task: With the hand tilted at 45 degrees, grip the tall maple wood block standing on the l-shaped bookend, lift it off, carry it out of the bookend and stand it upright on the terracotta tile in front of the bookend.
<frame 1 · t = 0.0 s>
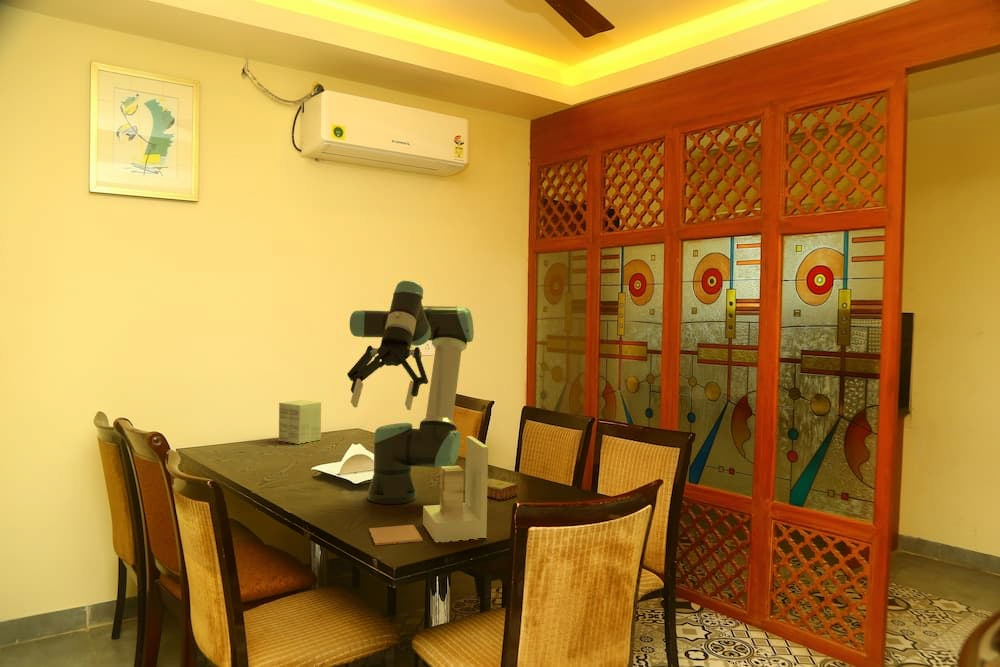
hand: (380, 406, 160), 36 cm above the table, tool tilted 35°, fingers open, 13 cm apart
tile pad: (395, 535, 175), on the table
l-shaped bookend: (454, 530, 180), on the table
supplement box: (299, 441, 299), on the table
carton: (490, 495, 219), on the table
maple block: (451, 512, 179), point 5 cm above the table, touching l-shaped bookend
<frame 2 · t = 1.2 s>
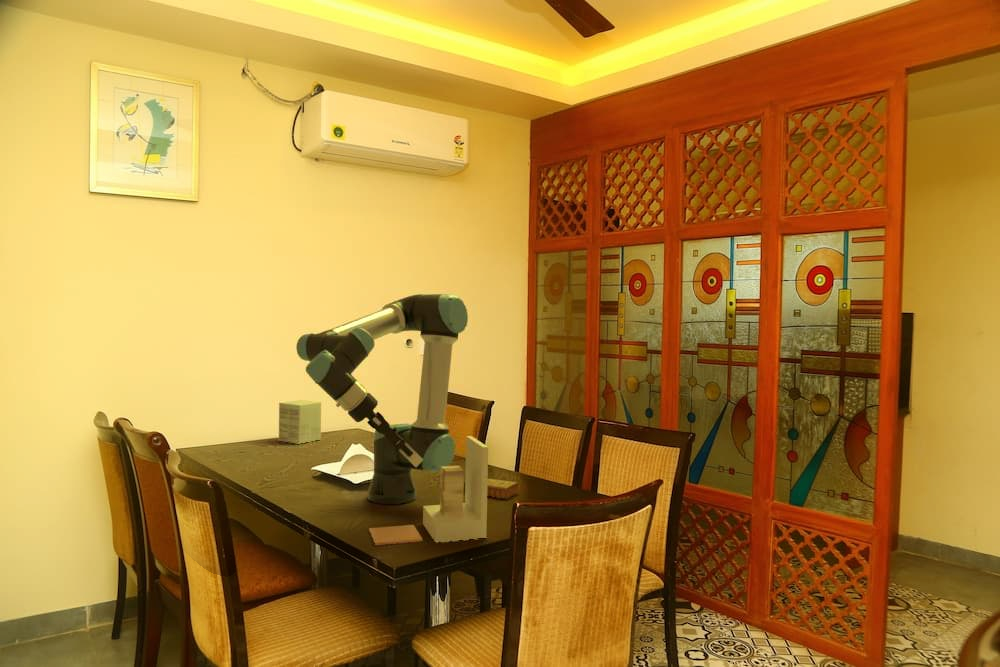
hand: (414, 458, 176), 20 cm above the table, tool tilted 45°, fingers open, 13 cm apart
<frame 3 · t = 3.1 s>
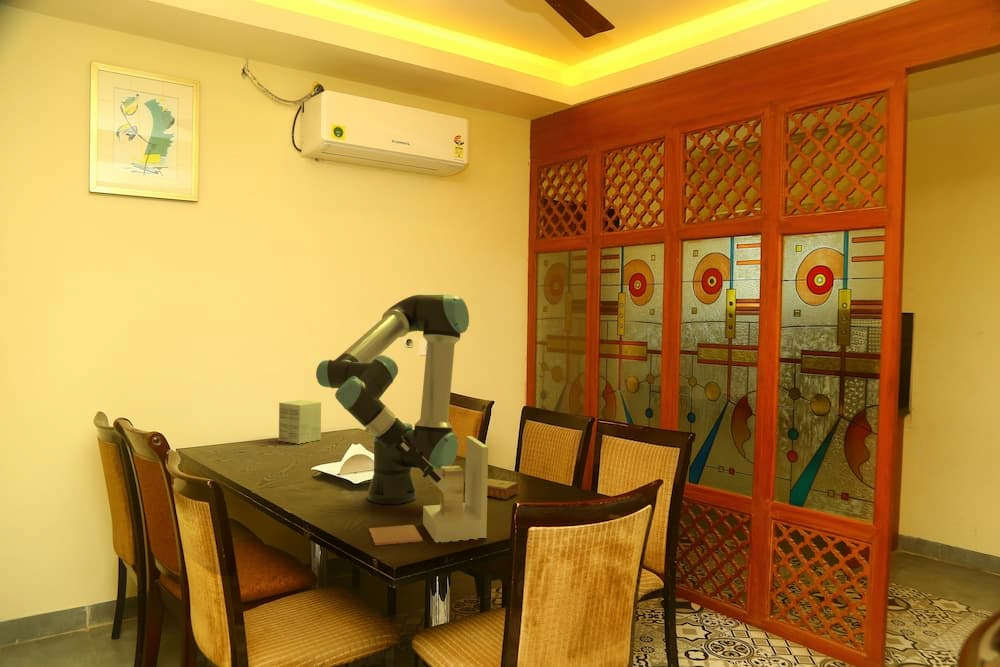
hand: (441, 482, 177), 14 cm above the table, tool tilted 45°, fingers open, 13 cm apart
nothing on the table moved.
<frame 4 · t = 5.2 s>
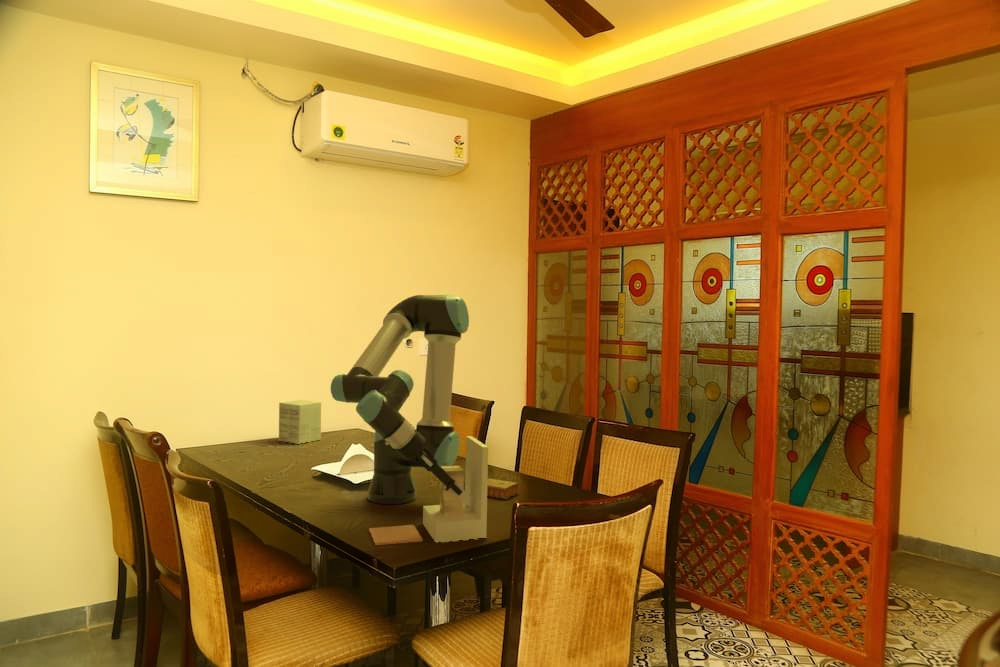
hand: (464, 497, 180), 9 cm above the table, tool tilted 45°, fingers closed on maple block, 5 cm apart
maple block: (451, 512, 179), point 5 cm above the table, touching gripper, l-shaped bookend
everything else where it was.
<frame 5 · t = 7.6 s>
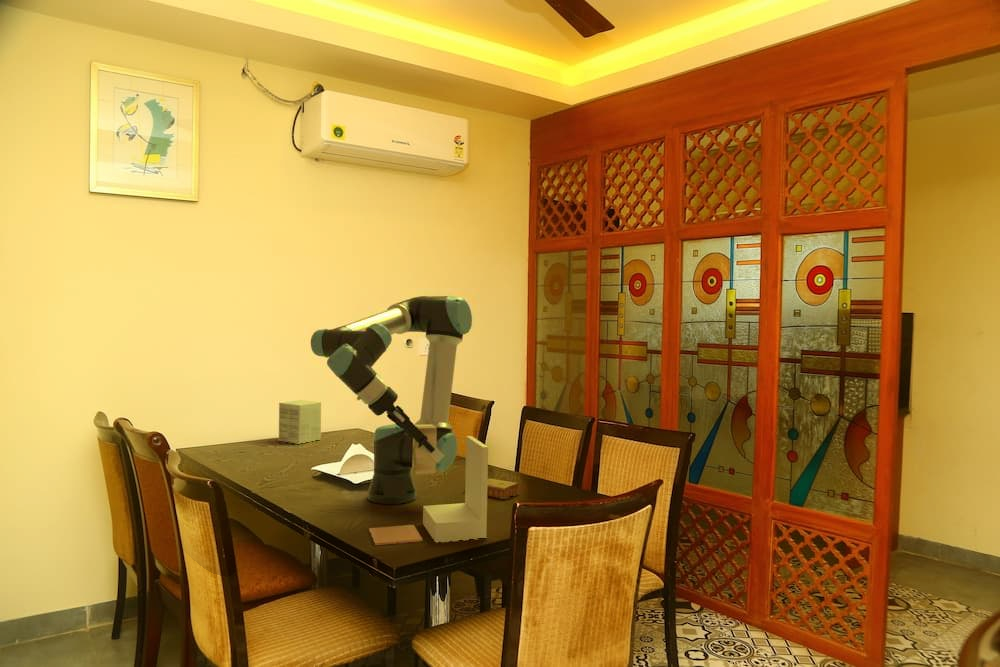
hand: (437, 456, 177), 20 cm above the table, tool tilted 45°, fingers closed on maple block, 5 cm apart
maple block: (423, 471, 176), point 17 cm above the table, touching gripper
everything else where it was.
when the fingers open (6 cm above the table, at t = 10.4 s): maple block drops 1 cm, resting on tile pad.
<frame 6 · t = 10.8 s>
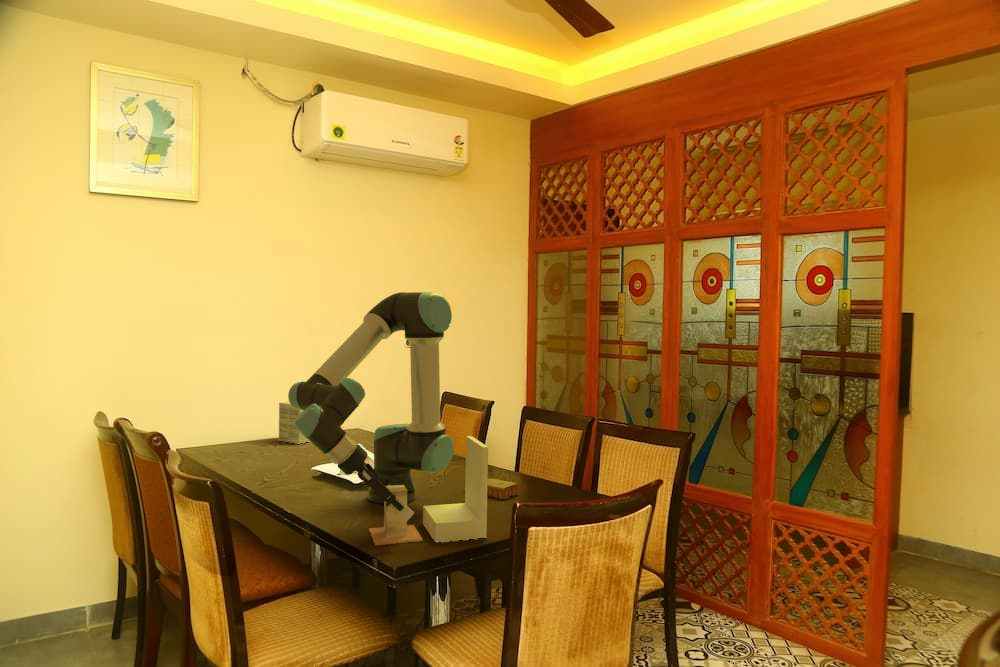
hand: (406, 510, 175), 7 cm above the table, tool tilted 45°, fingers open, 11 cm apart
maple block: (395, 533, 175), point 1 cm above the table, touching tile pad
everything else where it was.
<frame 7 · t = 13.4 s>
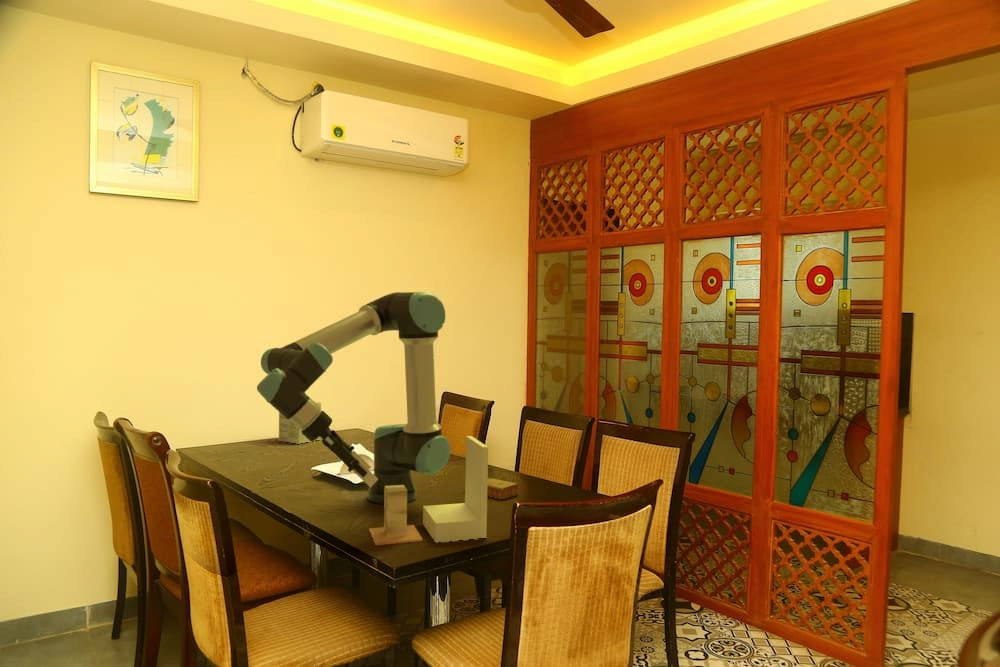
hand: (370, 476, 172), 16 cm above the table, tool tilted 45°, fingers open, 13 cm apart
nothing on the table moved.
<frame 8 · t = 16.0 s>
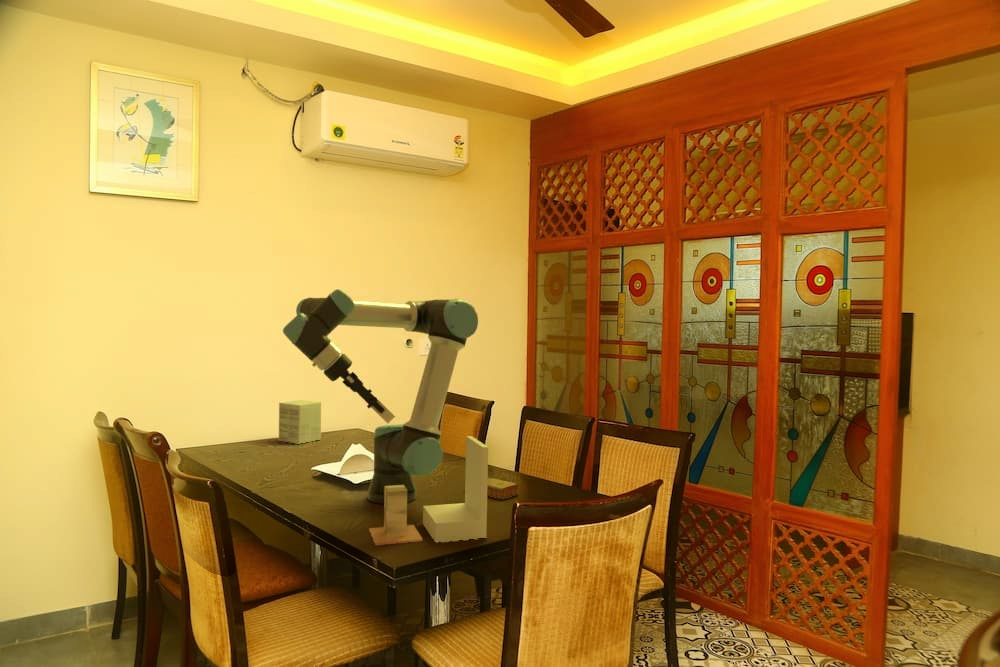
hand: (387, 416, 185), 30 cm above the table, tool tilted 45°, fingers open, 13 cm apart
nothing on the table moved.
at the end: maple block inside the target area on the tile pad (0.0 cm from its centre), point 0.6 cm above the tile pad's base; maple block tilted 0°; the gripper is holding nothing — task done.
